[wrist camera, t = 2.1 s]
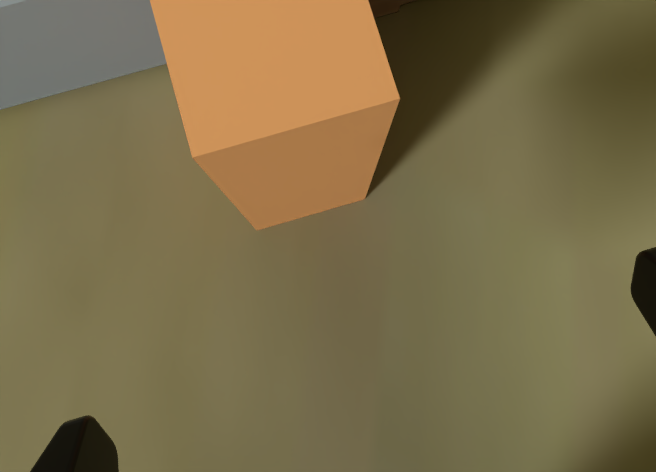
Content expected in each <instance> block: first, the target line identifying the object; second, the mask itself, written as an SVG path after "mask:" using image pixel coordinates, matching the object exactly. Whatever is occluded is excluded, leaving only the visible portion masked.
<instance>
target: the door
mask: <svg viewBox="0 0 656 472" xmlns="http://www.w3.org/2000/svg"><path fill="white" fill-rule="evenodd" d="M163 64H167V62H166V58H165V55H164V51H163V47H162V44H161V40H160V36H159V32H158V29H157V25H156V21H155V18H154V14H153V10H152V7H151V3H150V0H0V110H1V109H4V108H8V107H11V106H15V105H19V104H22V103H26V102H29V101H33V100H37V99H40V98H44V97H48V96H51V95H55V94H58V93H62V92H66V91H69V90H73V89H76V88H80V87H84V86H87V85H91V84H95V83H98V82H102V81H105V80H109V79H113V78H116V77H120V76H123V75H127V74H131V73H134V72H138V71H142V70H145V69H149V68H152V67H156V66H160V65H163Z"/></svg>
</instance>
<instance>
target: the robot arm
mask: <svg viewBox="0 0 656 472" xmlns="http://www.w3.org/2000/svg"><path fill="white" fill-rule="evenodd" d="M631 294H632V297H633V300H634V302H635V304H636V305H637V307H638V309H639V310H640V312H641V313H642V315H643V317H644V318H645V320H646V321H647V323H648V325H649V326H650V328H651V329H652V331H653V333H654V334H655V336H656V247H654V248H651V249H647V250H644V251H642V252H640V253H639V254H638V255H637V257H636V261H635V266H634V272H633V277H632V282H631ZM30 472H119V469H118V455H117V450H116V447H115V445H114V443H113V441H112V440H111V438H110V437H109V436H108V435H107V433H106V432H105V431H104V430H103V428H102V427H101V426H100V424H99V423H98V422H97V421H96V419H95V418H94V417H92V416H89V415H88V416H83V417H79V418H76V419H73V420H69V421H67V422H65V423H63V424H62V425H61V426H60V428H59V429H58V430H57V432H56V433H55V435H54V436H53V438H52V439H51V441H50V442H49V444H48V445H47V447H46V449H45V450H44V452H43V453H42V455H41V456H40V458H39V459H38V461H37V462H36V464H35V465H34V467H33V468H32V470H31V471H30Z"/></svg>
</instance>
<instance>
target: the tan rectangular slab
mask: <svg viewBox="0 0 656 472" xmlns="http://www.w3.org/2000/svg"><path fill="white" fill-rule="evenodd" d="M150 3H151V7H152V10H153V14H154V18H155V21H156V25H157V29H158V32H159V36H160V40H161V44H162V47H163V51H164V55H165V58H166V62H167V66H168V69H169V73H170V77H171V80H172V84H173V88H174V91H175V95H176V99H177V102H178V106H179V110H180V113H181V117H182V121H183V125H184V128H185V132H186V136H187V139H188V143H189V147H190V150H191V154H192V158H193V159H194V160H195V161H196V162H197V163H198V164H199V165H200V167H201V168H202V169H203V170H204V171H205V172H206V173H207V175H208V176H209V177H210V178H211V179H212V180H213V181H214V182H215V184H216V185H217V186H218V187H219V188H220V189H221V190H222V192H223V193H224V194H225V195H226V196H227V197H228V198H229V199H230V201H231V202H232V203H233V204H234V205H235V206H236V207H237V208H238V210H239V211H240V212H241V213H242V214H243V215H244V216H245V218H246V219H247V220H248V221H249V222H250V223H251V224H252V225H253V227H254V228H255V229H256V230H260V229H263V228H267V227H270V226H274V225H277V224H281V223H284V222H288V221H291V220H294V219H298V218H301V217H305V216H308V215H312V214H315V213H319V212H322V211H325V210H329V209H332V208H336V207H339V206H343V205H346V204H350V203H353V202H356V201H360V200H363V199H365V197H366V194H367V192H368V189H369V186H370V183H371V180H372V177H373V174H374V172H375V169H376V166H377V163H378V160H379V157H380V154H381V152H382V149H383V146H384V143H385V140H386V137H387V134H388V132H389V129H390V126H391V123H392V120H393V117H394V114H395V112H396V109H397V106H398V103H399V100H400V97H399V94H398V91H397V88H396V85H395V81H394V78H393V75H392V72H391V69H390V66H389V63H388V60H387V57H386V54H385V51H384V47H383V44H382V41H381V38H380V35H379V32H378V29H377V26H376V23H375V20H374V17H373V13H372V10H371V7H370V4H369V1H368V0H150Z"/></svg>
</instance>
